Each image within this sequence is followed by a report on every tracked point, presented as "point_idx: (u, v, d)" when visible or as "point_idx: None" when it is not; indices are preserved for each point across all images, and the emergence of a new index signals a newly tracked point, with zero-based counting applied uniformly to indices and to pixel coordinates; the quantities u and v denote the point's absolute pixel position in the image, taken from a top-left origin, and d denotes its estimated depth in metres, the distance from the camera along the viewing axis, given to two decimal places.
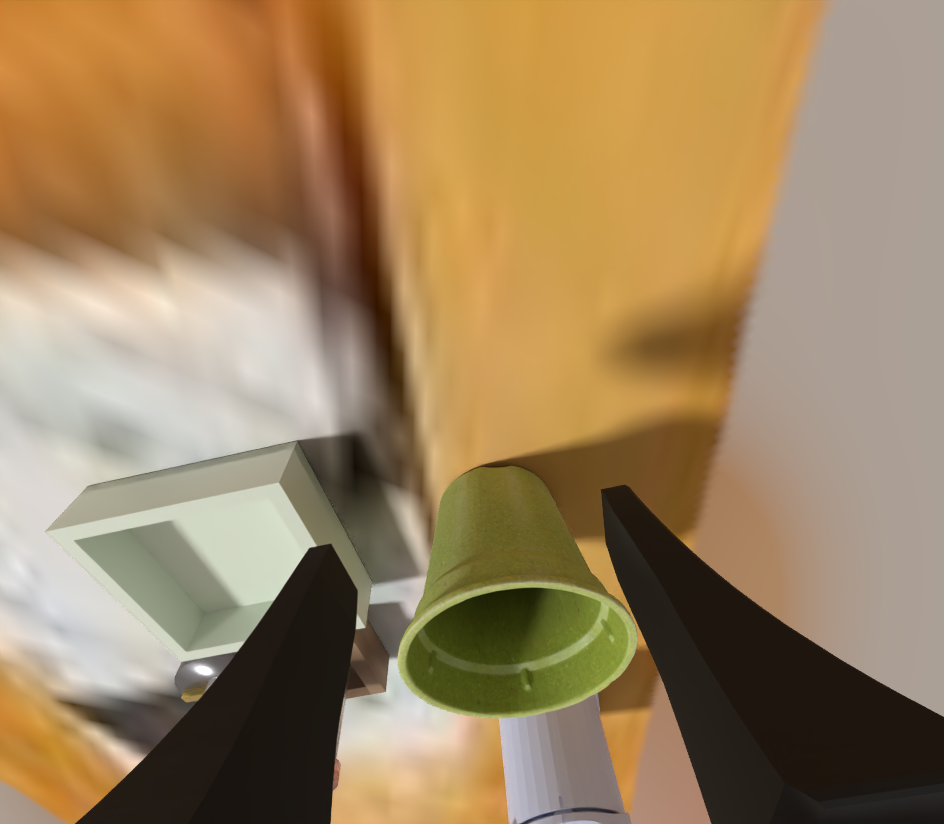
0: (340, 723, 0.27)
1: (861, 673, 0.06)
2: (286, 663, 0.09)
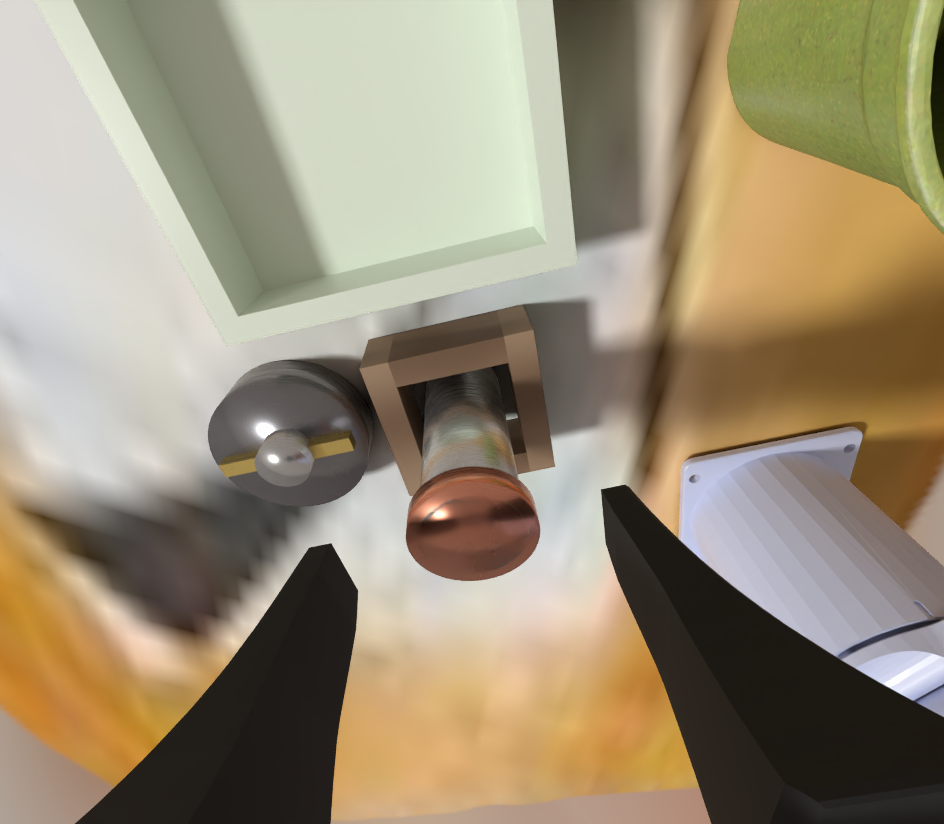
0: None
1: (861, 673, 0.06)
2: (286, 663, 0.09)
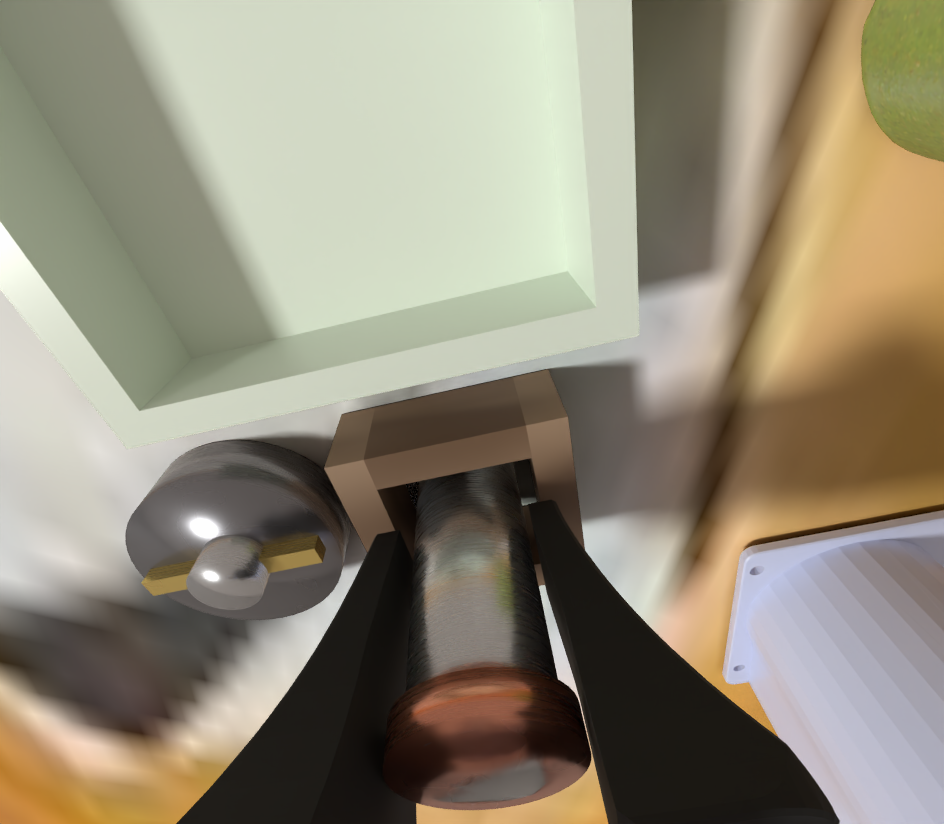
0: (544, 617, 0.10)
1: (721, 696, 0.06)
2: (374, 647, 0.09)
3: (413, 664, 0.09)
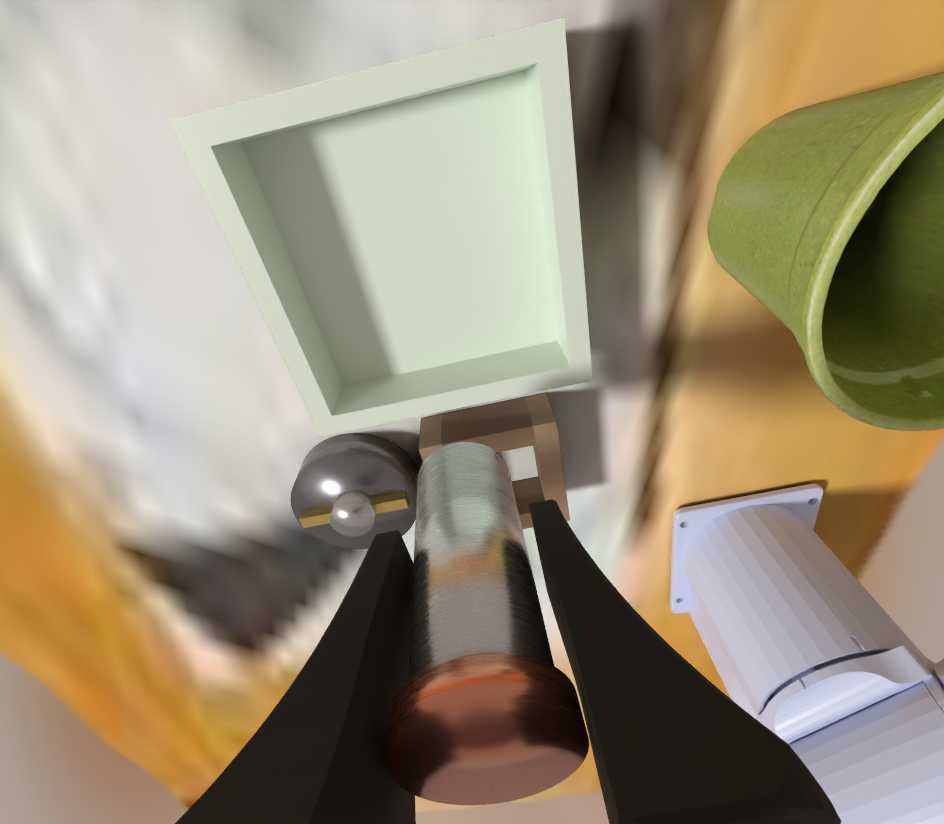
0: (541, 614, 0.11)
1: (722, 696, 0.06)
2: (373, 647, 0.09)
3: (415, 658, 0.09)
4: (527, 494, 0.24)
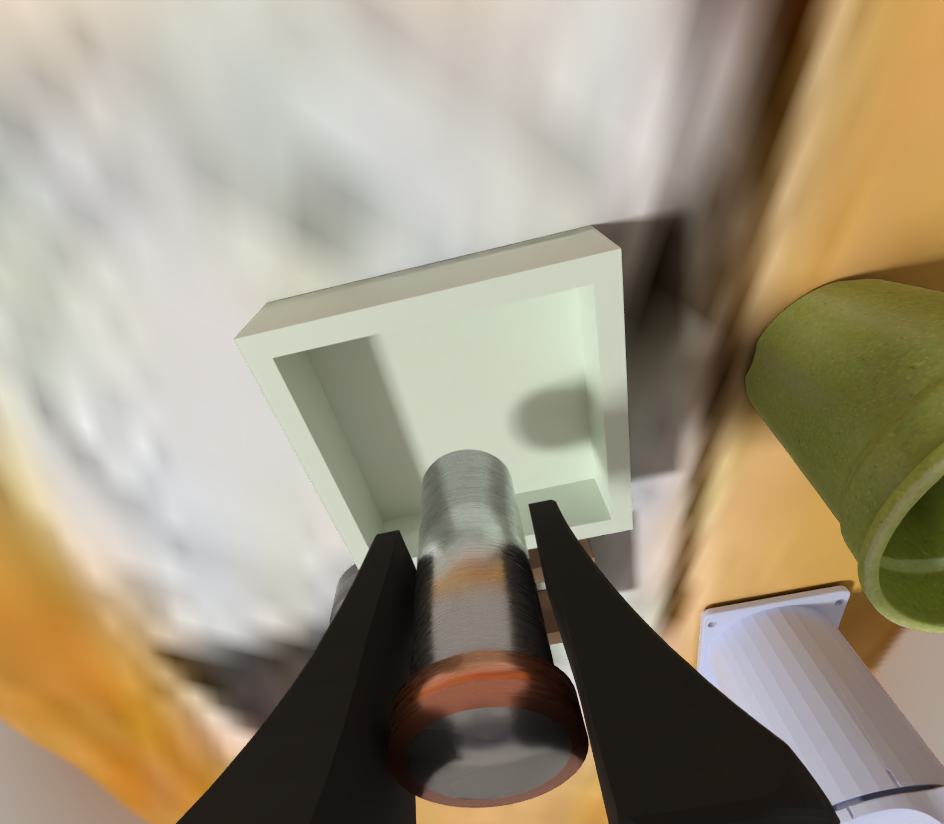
0: (542, 616, 0.11)
1: (721, 696, 0.06)
2: (373, 647, 0.09)
3: (416, 657, 0.09)
4: None
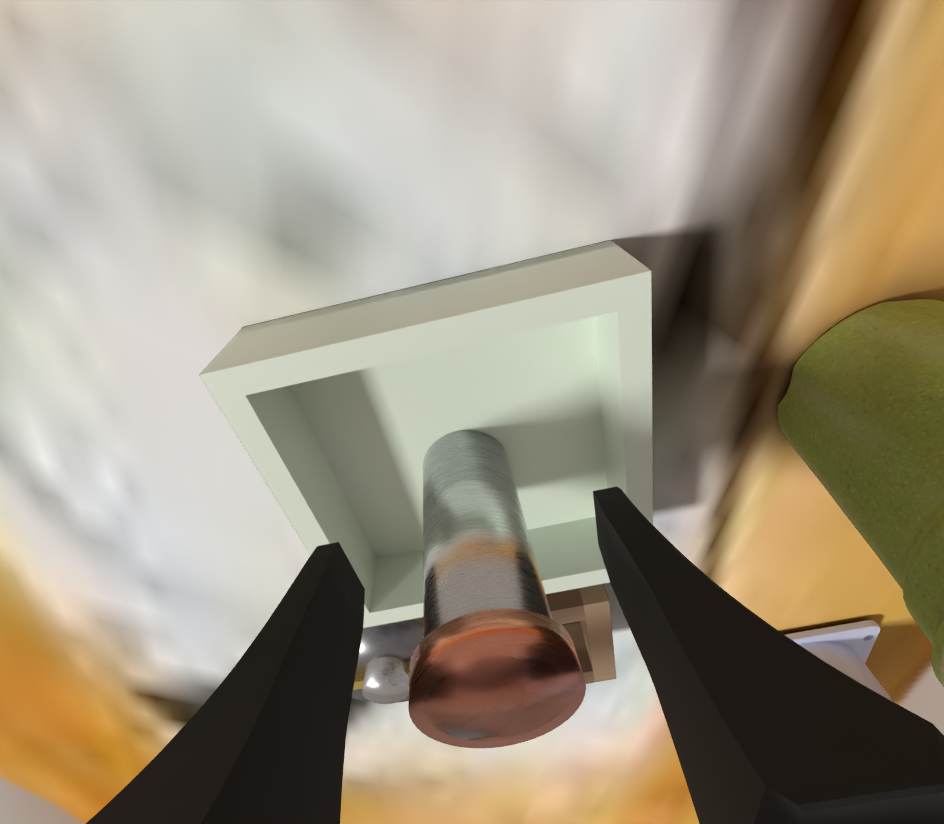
0: None
1: (845, 675, 0.06)
2: (295, 661, 0.09)
3: (429, 619, 0.10)
4: None
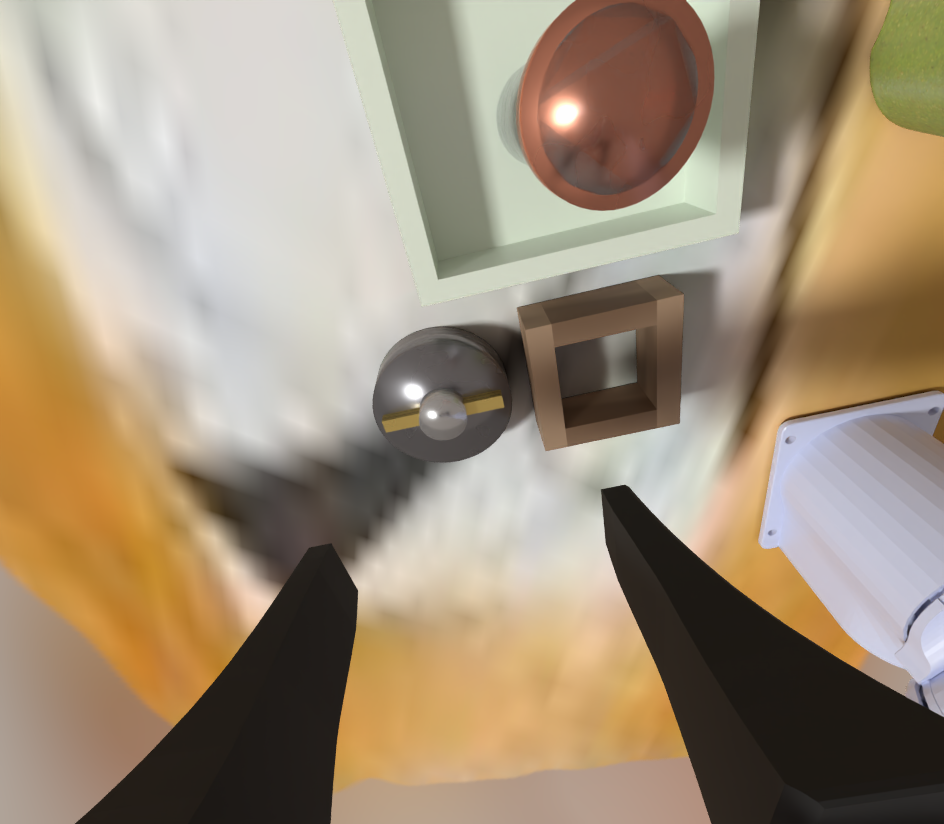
0: None
1: (861, 673, 0.06)
2: (286, 663, 0.09)
3: None
4: (628, 397, 0.21)
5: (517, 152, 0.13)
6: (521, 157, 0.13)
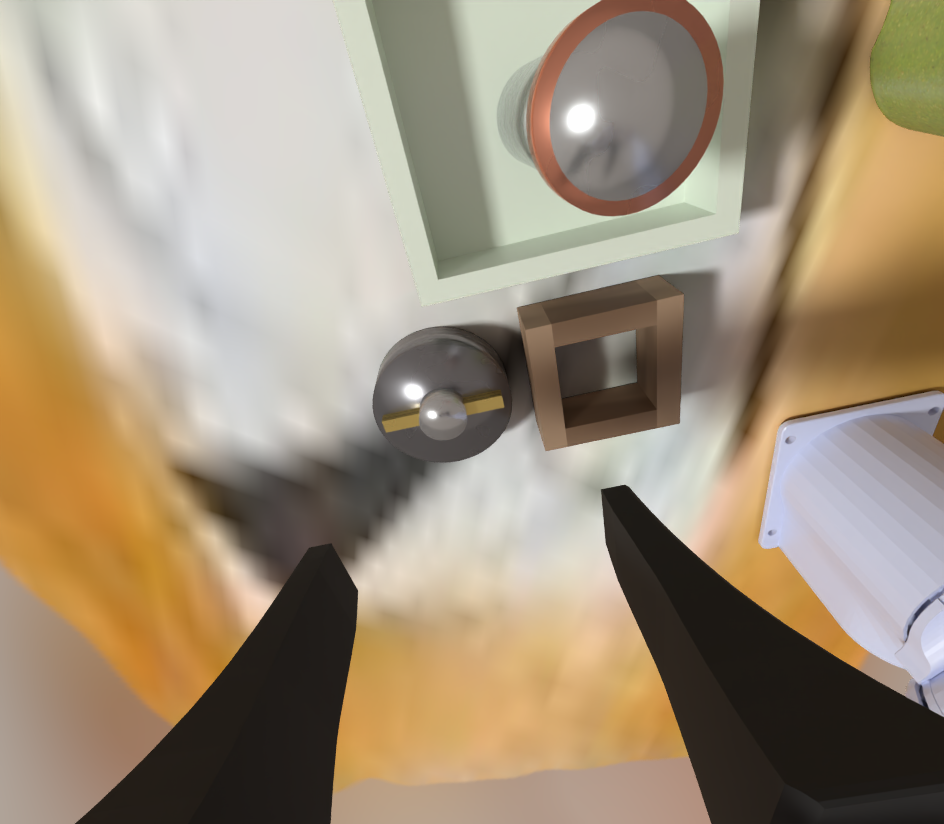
0: None
1: (861, 673, 0.06)
2: (286, 663, 0.09)
3: None
4: (628, 397, 0.21)
5: (521, 155, 0.13)
6: (525, 160, 0.13)
